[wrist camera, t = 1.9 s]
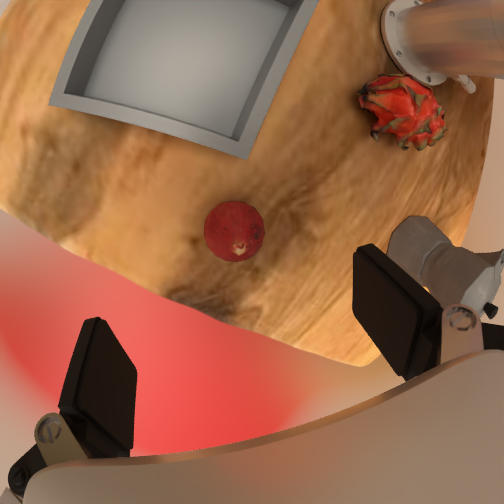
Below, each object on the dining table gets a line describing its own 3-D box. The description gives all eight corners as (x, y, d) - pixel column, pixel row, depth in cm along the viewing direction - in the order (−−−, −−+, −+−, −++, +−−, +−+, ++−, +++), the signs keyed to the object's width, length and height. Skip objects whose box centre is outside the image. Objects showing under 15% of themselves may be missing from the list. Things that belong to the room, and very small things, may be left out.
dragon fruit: (414, 131, 32) (335, 99, 31) (446, 86, 25) (363, 42, 23) (433, 176, 28) (345, 141, 26) (475, 127, 21) (384, 74, 19)
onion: (250, 186, 30) (269, 211, 23) (260, 234, 33) (279, 270, 26) (196, 200, 30) (198, 229, 23) (210, 247, 33) (216, 287, 26)
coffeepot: (414, 190, 35) (517, 250, 19) (446, 217, 38) (531, 275, 22) (358, 283, 40) (431, 374, 24) (396, 298, 43) (462, 374, 27)
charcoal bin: (301, 7, 22) (324, -11, 17) (236, 151, 28) (246, 160, 23) (143, -41, 16) (136, -67, 11) (73, 104, 22) (48, 105, 17)
